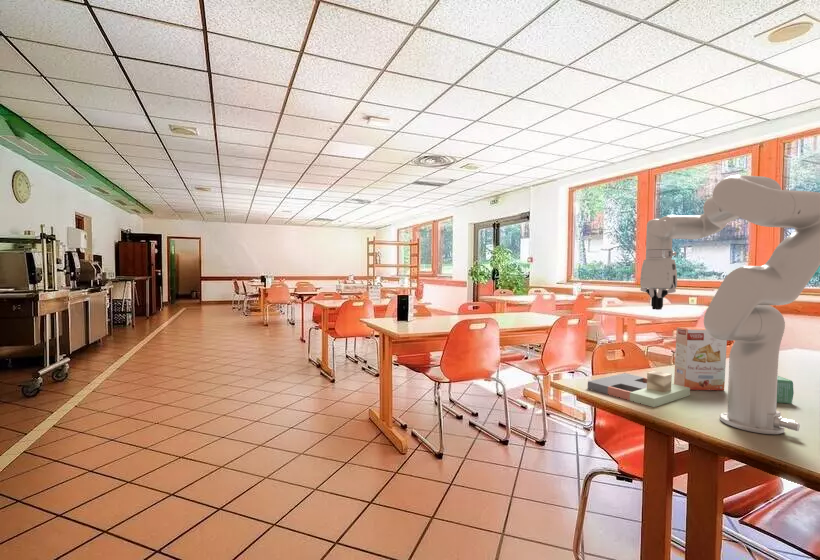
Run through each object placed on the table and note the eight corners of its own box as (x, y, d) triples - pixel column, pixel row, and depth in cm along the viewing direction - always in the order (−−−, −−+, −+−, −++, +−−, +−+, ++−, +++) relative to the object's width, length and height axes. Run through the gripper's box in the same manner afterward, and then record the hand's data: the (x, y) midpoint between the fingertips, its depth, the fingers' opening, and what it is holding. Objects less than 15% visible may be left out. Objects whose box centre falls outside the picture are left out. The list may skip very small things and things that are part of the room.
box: (794, 404, 120) (794, 380, 120) (743, 401, 123) (744, 377, 123) (776, 397, 127) (777, 374, 127) (729, 394, 130) (729, 371, 130)
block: (671, 390, 124) (671, 374, 124) (664, 392, 121) (664, 376, 121) (654, 386, 128) (654, 370, 128) (646, 388, 125) (647, 372, 125)
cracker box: (685, 390, 132) (687, 328, 132) (673, 385, 138) (675, 326, 138) (726, 391, 133) (728, 329, 132) (711, 386, 139) (713, 327, 139)
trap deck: (689, 395, 127) (690, 387, 127) (653, 407, 115) (654, 398, 114) (624, 379, 145) (624, 373, 145) (587, 388, 132) (587, 381, 132)
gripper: (688, 255, 130) (686, 311, 130) (641, 256, 142) (640, 307, 142) (677, 254, 126) (676, 311, 126) (630, 255, 138) (628, 307, 138)
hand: (656, 309), depth 134 cm, fingers closed
